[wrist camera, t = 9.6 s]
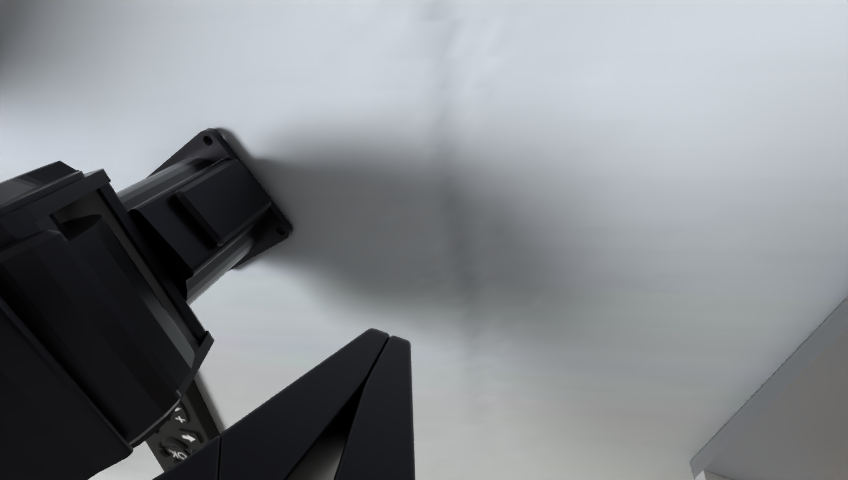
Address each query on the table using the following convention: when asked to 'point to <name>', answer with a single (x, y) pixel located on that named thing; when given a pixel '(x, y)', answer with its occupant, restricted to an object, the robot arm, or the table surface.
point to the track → (790, 418)
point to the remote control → (183, 430)
